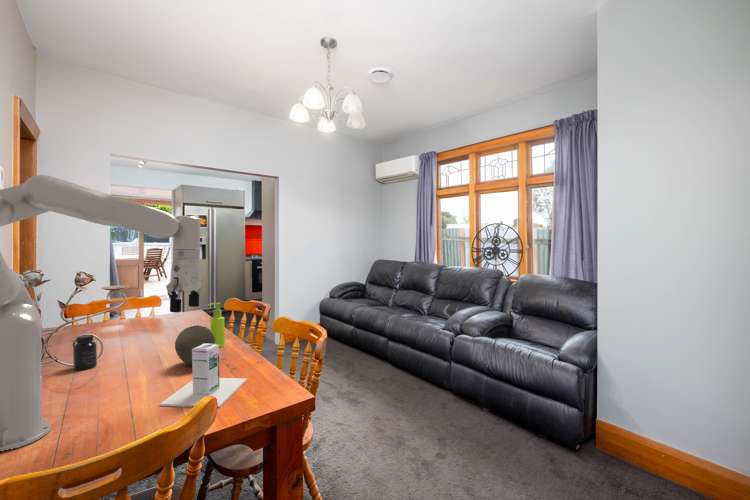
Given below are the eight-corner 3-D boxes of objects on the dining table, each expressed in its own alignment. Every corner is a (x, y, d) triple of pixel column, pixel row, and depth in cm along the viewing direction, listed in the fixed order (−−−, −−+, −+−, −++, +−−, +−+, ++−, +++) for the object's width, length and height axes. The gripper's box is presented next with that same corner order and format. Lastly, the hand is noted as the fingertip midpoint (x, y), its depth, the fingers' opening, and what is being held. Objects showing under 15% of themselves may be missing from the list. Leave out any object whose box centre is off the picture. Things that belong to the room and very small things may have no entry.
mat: (220, 407, 102) (220, 405, 102) (159, 405, 102) (159, 403, 102) (247, 380, 122) (247, 378, 122) (196, 378, 122) (196, 377, 122)
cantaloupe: (171, 363, 137) (171, 325, 137) (209, 355, 146) (209, 320, 146) (178, 374, 127) (178, 333, 126) (219, 365, 136) (219, 327, 135)
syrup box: (208, 395, 108) (208, 349, 108) (191, 393, 109) (191, 347, 109) (219, 387, 114) (219, 343, 114) (203, 386, 115) (203, 342, 115)
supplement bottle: (69, 368, 130) (69, 336, 130) (91, 363, 136) (91, 332, 136) (78, 372, 127) (78, 339, 127) (100, 366, 133) (100, 335, 133)
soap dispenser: (208, 345, 161) (208, 302, 160) (224, 343, 164) (224, 301, 163) (207, 349, 155) (207, 304, 155) (224, 347, 158) (224, 303, 158)
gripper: (181, 256, 101) (180, 315, 101) (212, 254, 118) (210, 305, 119) (156, 255, 101) (155, 314, 102) (190, 254, 119) (189, 304, 119)
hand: (185, 309), depth 110 cm, fingers open, 9 cm apart
